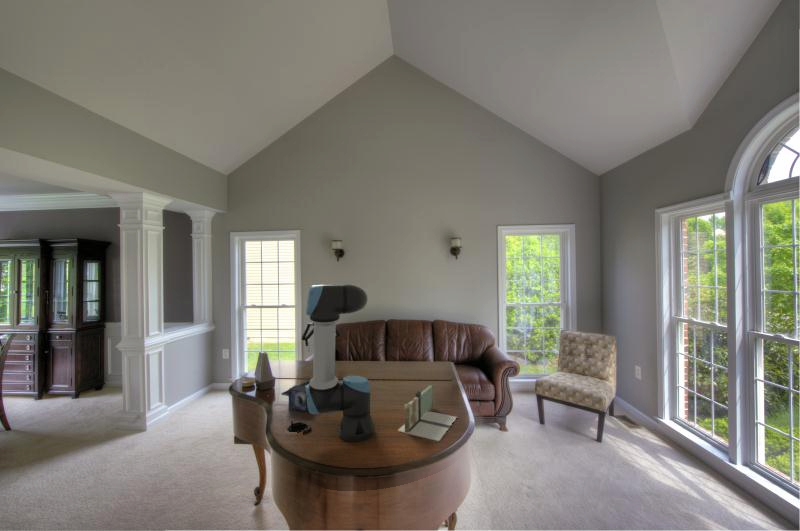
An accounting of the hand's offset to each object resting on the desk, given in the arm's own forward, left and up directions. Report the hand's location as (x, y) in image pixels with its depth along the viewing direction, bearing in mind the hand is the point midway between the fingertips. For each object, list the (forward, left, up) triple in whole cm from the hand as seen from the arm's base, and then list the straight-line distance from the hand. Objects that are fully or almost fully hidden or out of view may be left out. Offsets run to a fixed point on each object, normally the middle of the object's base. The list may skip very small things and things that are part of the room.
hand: (321, 349), depth 182 cm
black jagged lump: (-36, -17, -27) cm, 48 cm away
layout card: (-5, -66, -26) cm, 71 cm away
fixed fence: (-9, -61, -26) cm, 67 cm away
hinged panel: (+5, -61, -25) cm, 66 cm away
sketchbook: (+7, +12, -27) cm, 30 cm away
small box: (-18, -2, -26) cm, 32 cm away
